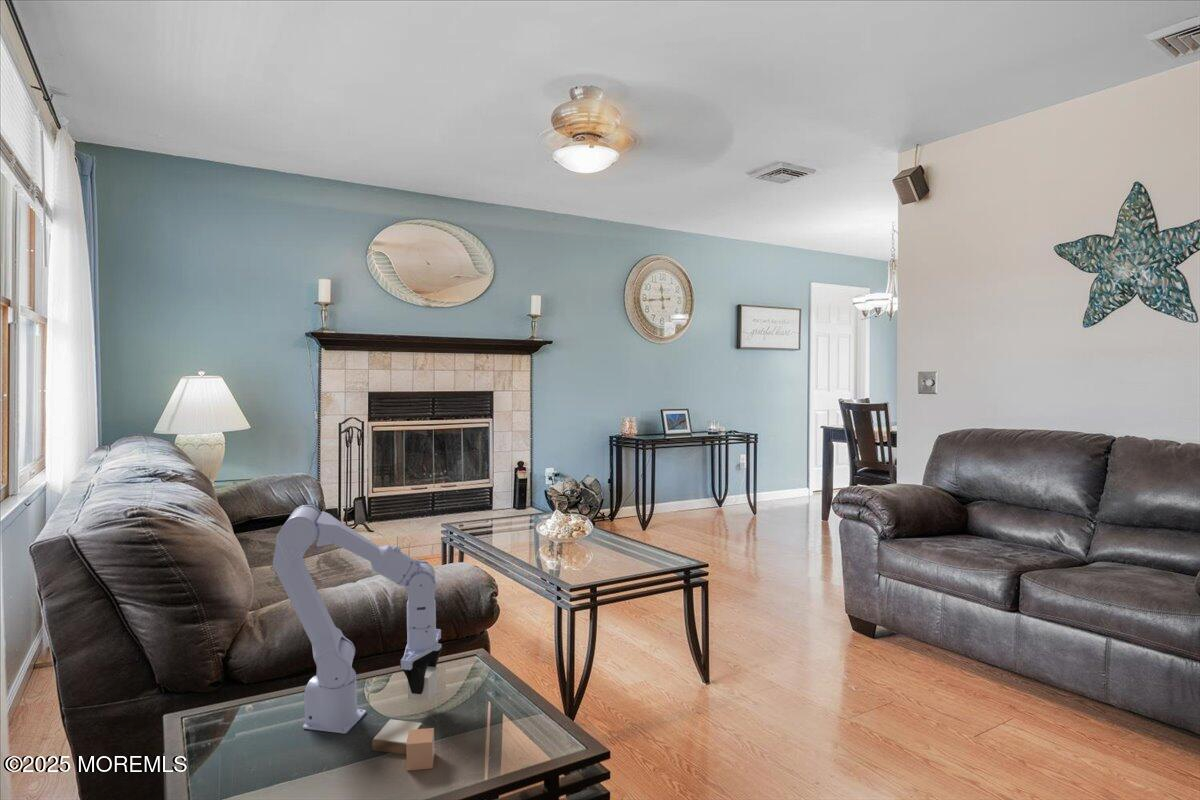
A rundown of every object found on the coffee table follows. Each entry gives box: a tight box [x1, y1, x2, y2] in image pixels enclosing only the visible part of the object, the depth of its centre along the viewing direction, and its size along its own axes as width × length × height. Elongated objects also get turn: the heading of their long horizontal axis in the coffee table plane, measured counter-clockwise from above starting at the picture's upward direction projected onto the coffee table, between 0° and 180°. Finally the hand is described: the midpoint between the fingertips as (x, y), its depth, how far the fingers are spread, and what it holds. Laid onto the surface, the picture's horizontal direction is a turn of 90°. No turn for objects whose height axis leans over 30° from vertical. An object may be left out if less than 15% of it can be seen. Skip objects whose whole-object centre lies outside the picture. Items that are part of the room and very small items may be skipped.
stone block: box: [407, 666, 439, 702], centre depth 144 cm, size 4×4×5 cm
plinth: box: [371, 718, 424, 755], centre depth 134 cm, size 7×7×2 cm
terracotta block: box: [405, 727, 436, 771], centre depth 128 cm, size 4×4×5 cm
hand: (422, 686), depth 144 cm, fingers closed on stone block, 4 cm apart
